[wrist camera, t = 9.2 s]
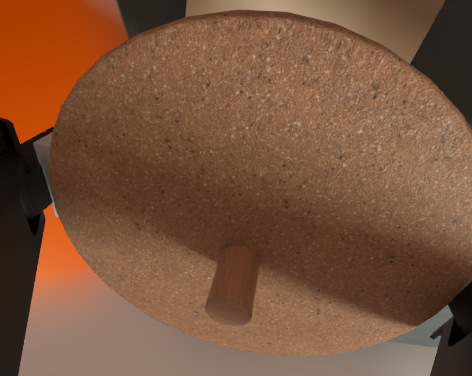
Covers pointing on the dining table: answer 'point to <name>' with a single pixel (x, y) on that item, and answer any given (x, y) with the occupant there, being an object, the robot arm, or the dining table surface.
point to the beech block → (349, 17)
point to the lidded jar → (267, 183)
